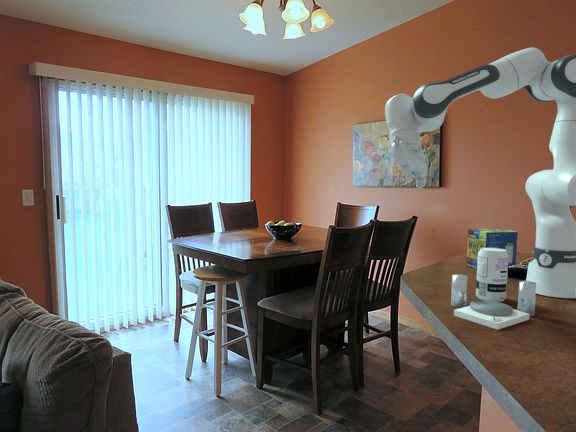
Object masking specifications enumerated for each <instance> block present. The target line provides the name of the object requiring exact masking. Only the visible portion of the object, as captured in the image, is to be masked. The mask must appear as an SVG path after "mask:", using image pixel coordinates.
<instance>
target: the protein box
mask: <svg viewBox="0 0 576 432" xmlns="http://www.w3.org/2000/svg"><path fill="white" fill-rule="evenodd" d="M467 230H468V231H467V246H466V247H467V249H466V250H467V251H466V267H469V268H473V269H476V270H477V260H478V253H479V251H480V249H481V248H500V249H505V250H506V251H507V253H508V255H509V257H508V267H509V266H512V265H516V266H517V264H516V262H517V251H518V250H517V248H518V247H517V246H518V234H519V232H518V231H516V230H515V231H514V230H511V229H505V228H499V227H495V228H468V229H467Z"/></svg>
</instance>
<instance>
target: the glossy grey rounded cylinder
mask: <svg viewBox="0 0 576 432" xmlns="http://www.w3.org/2000/svg"><path fill="white" fill-rule="evenodd" d="M468 279H469V278H468V275H466V274H459V273H454V274H452V275H451V294H450V297H451V298H450V305H451V306H452V307H454V306H455V307H456V308H463V307H467V298H468V297H467V295H468V294H467V293H468Z"/></svg>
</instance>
